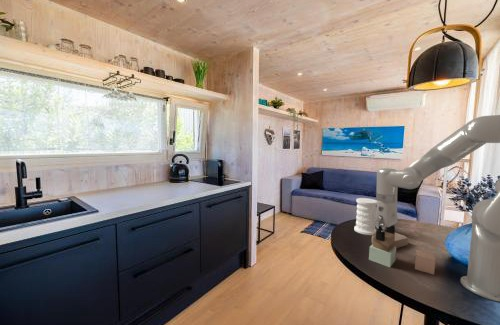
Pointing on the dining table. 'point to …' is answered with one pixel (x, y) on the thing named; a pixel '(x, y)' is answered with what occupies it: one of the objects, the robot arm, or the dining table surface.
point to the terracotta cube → (425, 261)
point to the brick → (399, 240)
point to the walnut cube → (385, 245)
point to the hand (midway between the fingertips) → (385, 237)
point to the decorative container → (366, 216)
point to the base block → (382, 256)
